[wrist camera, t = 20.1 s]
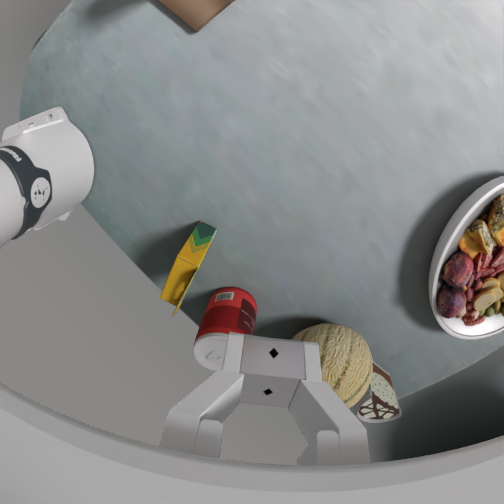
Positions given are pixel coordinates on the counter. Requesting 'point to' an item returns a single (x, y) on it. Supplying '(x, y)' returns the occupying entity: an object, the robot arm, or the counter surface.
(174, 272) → the crayon box
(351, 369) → the cantaloupe
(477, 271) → the bowl
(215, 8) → the board
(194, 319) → the counter surface
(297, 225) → the counter surface
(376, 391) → the cake slice
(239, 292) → the canned food
